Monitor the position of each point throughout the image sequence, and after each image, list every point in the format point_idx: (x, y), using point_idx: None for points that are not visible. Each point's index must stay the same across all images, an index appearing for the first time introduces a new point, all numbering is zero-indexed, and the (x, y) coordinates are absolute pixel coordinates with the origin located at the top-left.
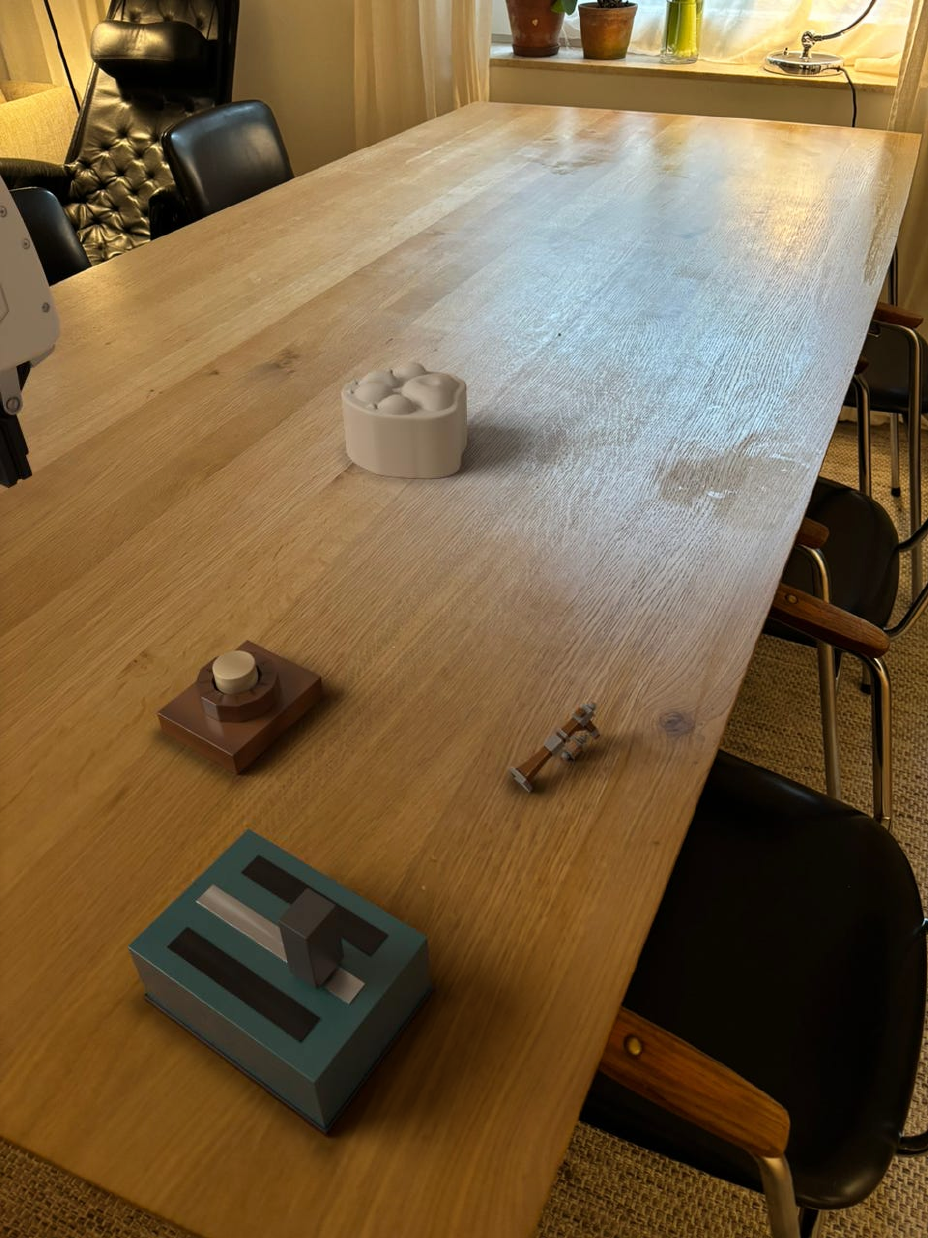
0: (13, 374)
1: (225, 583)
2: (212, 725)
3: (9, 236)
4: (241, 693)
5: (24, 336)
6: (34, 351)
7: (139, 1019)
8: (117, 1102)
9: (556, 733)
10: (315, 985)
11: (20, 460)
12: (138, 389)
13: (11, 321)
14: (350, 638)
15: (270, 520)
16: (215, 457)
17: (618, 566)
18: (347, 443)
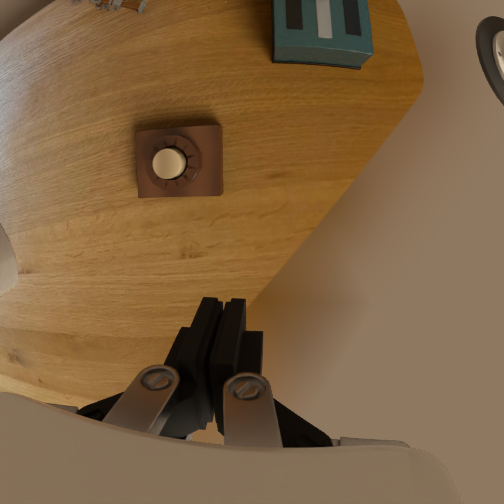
0: (115, 417)
1: (112, 261)
2: (207, 155)
3: None
4: (179, 150)
5: (20, 449)
6: (34, 409)
7: (366, 66)
8: (395, 53)
9: (111, 3)
10: None
11: (209, 312)
12: (72, 403)
13: (16, 501)
14: (99, 158)
15: (66, 279)
16: (63, 342)
17: (4, 94)
18: (12, 283)
